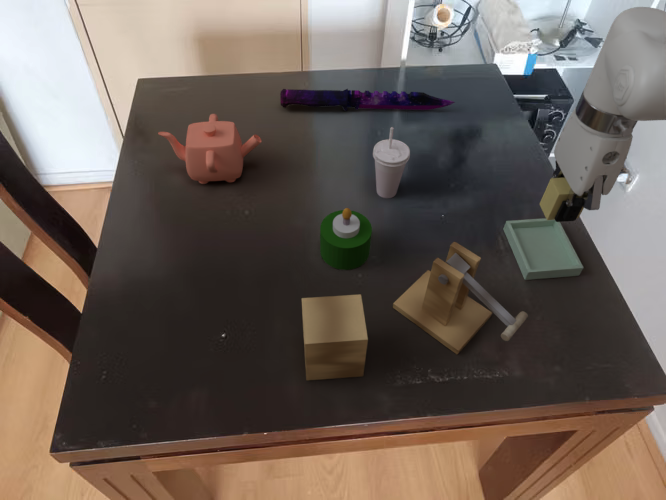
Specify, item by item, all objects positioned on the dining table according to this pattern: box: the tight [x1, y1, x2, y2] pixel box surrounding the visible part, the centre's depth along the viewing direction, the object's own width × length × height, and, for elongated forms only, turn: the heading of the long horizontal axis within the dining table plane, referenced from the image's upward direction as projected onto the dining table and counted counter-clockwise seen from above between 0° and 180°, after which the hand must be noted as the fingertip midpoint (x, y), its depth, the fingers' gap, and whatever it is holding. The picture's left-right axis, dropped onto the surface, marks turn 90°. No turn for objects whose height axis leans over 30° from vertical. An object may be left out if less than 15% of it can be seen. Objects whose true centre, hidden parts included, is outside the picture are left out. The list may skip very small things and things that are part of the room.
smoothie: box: [372, 126, 411, 199], centre depth 94 cm, size 6×6×14 cm
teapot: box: [157, 113, 262, 185], centre depth 99 cm, size 14×12×10 cm
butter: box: [539, 177, 585, 220], centre depth 81 cm, size 5×4×6 cm
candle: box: [319, 207, 373, 271], centre depth 86 cm, size 8×8×10 cm
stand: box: [301, 293, 369, 381], centre depth 73 cm, size 8×7×10 cm
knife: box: [279, 88, 456, 112], centre depth 114 cm, size 37×4×5 cm, turn 89°
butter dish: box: [502, 217, 584, 281], centre depth 90 cm, size 11×9×2 cm
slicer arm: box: [445, 253, 529, 342], centre depth 73 cm, size 13×5×2 cm, turn 47°
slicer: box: [392, 241, 493, 355], centre depth 77 cm, size 12×9×13 cm
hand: (559, 209), depth 83 cm, fingers closed on butter, 3 cm apart
